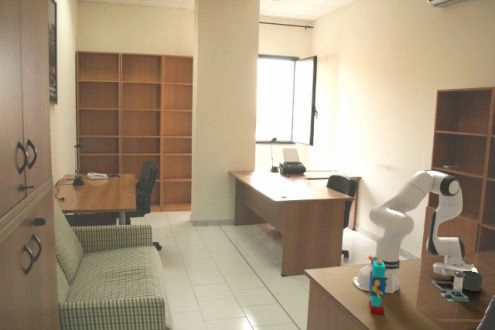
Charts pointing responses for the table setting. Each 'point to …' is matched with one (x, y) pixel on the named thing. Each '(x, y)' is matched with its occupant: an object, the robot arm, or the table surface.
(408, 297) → the table surface
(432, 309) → the table surface
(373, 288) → the toy robot
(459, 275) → the salt shaker
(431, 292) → the table surface
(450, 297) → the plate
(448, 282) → the grey square frame
